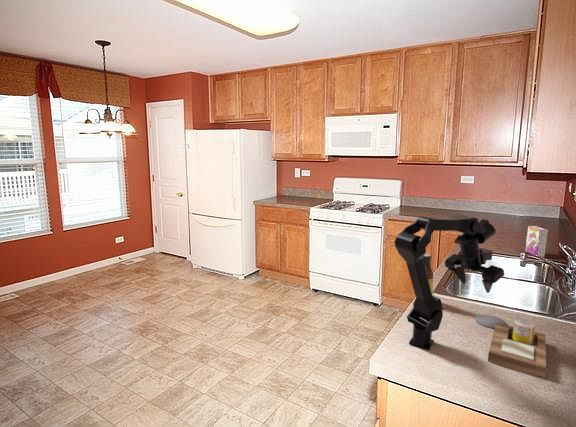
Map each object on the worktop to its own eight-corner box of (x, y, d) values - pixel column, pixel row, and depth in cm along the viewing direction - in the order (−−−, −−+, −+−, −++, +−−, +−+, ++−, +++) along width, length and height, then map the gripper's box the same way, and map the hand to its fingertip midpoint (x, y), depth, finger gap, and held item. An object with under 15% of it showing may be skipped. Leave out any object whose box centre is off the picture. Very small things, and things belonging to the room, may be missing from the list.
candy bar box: (524, 252, 219) (527, 225, 216) (532, 252, 219) (535, 225, 215) (536, 257, 208) (540, 230, 205) (545, 257, 208) (549, 230, 204)
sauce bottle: (434, 300, 150) (438, 254, 146) (428, 305, 145) (432, 258, 141) (419, 296, 154) (422, 251, 150) (412, 300, 150) (415, 255, 146)
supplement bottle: (523, 340, 119) (527, 311, 117) (536, 349, 114) (540, 319, 112) (507, 341, 119) (511, 312, 117) (519, 350, 113) (523, 320, 111)
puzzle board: (544, 378, 100) (546, 366, 99) (487, 361, 108) (488, 350, 107) (544, 343, 118) (545, 332, 117) (495, 330, 126) (496, 321, 125)
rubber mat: (505, 331, 125) (505, 330, 125) (473, 323, 130) (473, 322, 130) (507, 320, 133) (507, 319, 133) (477, 313, 138) (477, 312, 138)
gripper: (512, 245, 116) (516, 285, 122) (460, 233, 132) (467, 268, 138) (490, 261, 112) (496, 302, 117) (440, 247, 128) (447, 283, 134)
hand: (476, 287), depth 127 cm, fingers open, 9 cm apart
